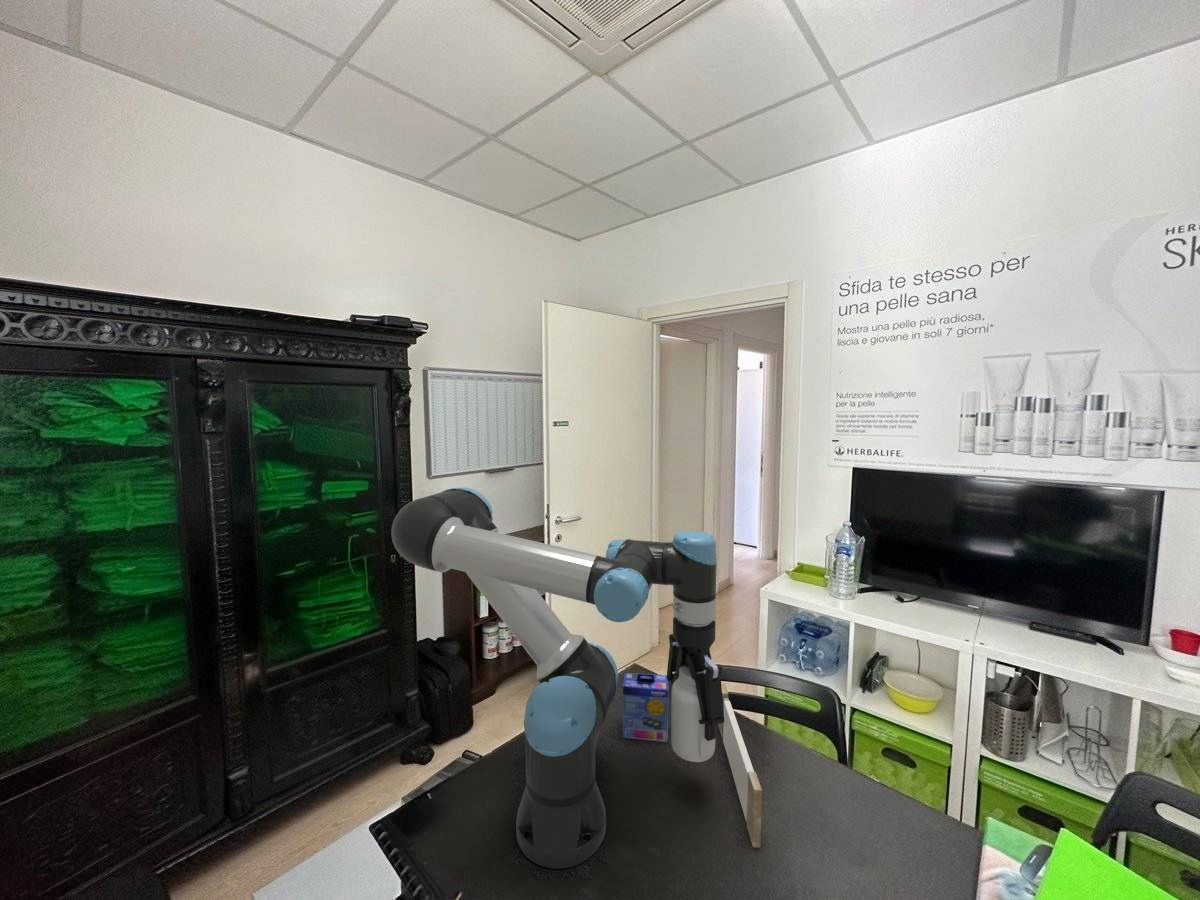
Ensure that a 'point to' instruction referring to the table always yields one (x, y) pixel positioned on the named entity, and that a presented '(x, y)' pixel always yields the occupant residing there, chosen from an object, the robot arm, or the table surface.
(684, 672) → the pill bottle
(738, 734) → the door
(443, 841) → the table surface
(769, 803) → the table surface
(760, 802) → the oak wall
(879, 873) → the table surface
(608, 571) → the robot arm
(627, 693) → the ink cartridge box
